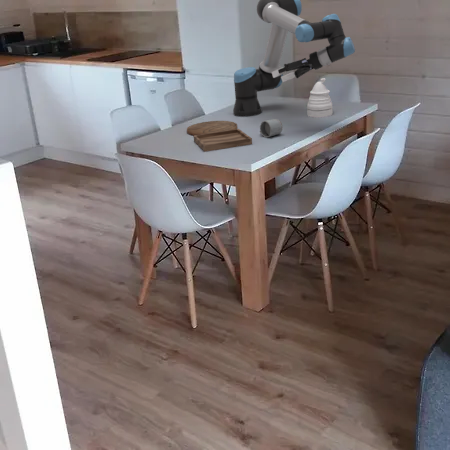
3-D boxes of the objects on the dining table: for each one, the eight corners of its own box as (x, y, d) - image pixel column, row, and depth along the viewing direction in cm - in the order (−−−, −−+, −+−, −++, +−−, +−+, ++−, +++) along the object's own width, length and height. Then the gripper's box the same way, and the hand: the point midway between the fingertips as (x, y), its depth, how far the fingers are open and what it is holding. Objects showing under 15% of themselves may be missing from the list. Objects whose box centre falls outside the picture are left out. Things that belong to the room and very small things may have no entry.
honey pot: (333, 111, 327) (333, 76, 320) (331, 117, 315) (330, 80, 308) (308, 111, 330) (307, 77, 323) (305, 117, 319) (304, 81, 312)
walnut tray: (194, 141, 294) (193, 135, 293) (239, 134, 299) (238, 128, 298) (204, 151, 276) (203, 145, 275) (252, 144, 281) (251, 138, 280)
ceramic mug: (284, 134, 291) (283, 118, 288) (271, 138, 287) (270, 122, 284) (268, 131, 299) (267, 115, 296) (255, 135, 295) (254, 119, 292)
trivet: (176, 134, 310) (176, 130, 309) (210, 122, 327) (209, 118, 327) (214, 139, 295) (214, 135, 294) (247, 127, 312) (247, 123, 311)
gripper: (315, 61, 270) (271, 81, 278) (329, 71, 293) (288, 88, 301) (310, 45, 271) (265, 65, 279) (324, 56, 294) (283, 74, 302)
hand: (277, 77), depth 290 cm, fingers open, 13 cm apart
